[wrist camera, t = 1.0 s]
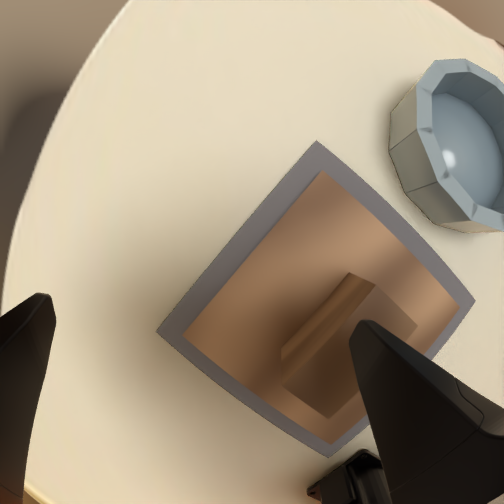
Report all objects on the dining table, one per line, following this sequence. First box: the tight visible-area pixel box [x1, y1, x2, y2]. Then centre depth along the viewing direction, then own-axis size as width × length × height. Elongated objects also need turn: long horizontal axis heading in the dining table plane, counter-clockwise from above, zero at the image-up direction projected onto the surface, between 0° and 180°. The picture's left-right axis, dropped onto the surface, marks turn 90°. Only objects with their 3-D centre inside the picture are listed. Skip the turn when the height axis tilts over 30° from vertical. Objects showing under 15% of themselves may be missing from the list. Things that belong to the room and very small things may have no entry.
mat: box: [156, 140, 476, 458], centre depth 18 cm, size 16×16×1 cm
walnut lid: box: [182, 170, 460, 445], centre depth 15 cm, size 13×13×6 cm
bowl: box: [389, 59, 504, 233], centre depth 15 cm, size 11×11×4 cm
